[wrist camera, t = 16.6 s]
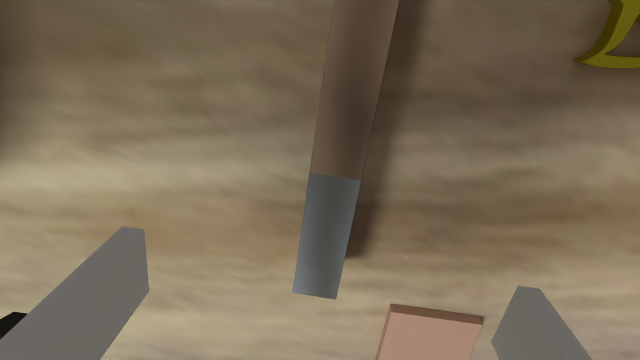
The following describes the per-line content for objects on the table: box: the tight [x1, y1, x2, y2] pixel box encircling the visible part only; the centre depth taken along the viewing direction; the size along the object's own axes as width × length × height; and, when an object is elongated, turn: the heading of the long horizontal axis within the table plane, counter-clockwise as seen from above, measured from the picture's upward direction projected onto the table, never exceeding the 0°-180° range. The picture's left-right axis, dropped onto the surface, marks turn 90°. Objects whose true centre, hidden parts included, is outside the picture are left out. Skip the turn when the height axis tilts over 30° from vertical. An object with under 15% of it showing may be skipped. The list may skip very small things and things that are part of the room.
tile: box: [375, 304, 483, 360], centre depth 41 cm, size 10×2×10 cm
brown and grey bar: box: [292, 0, 399, 299], centre depth 29 cm, size 4×28×6 cm, turn 172°
